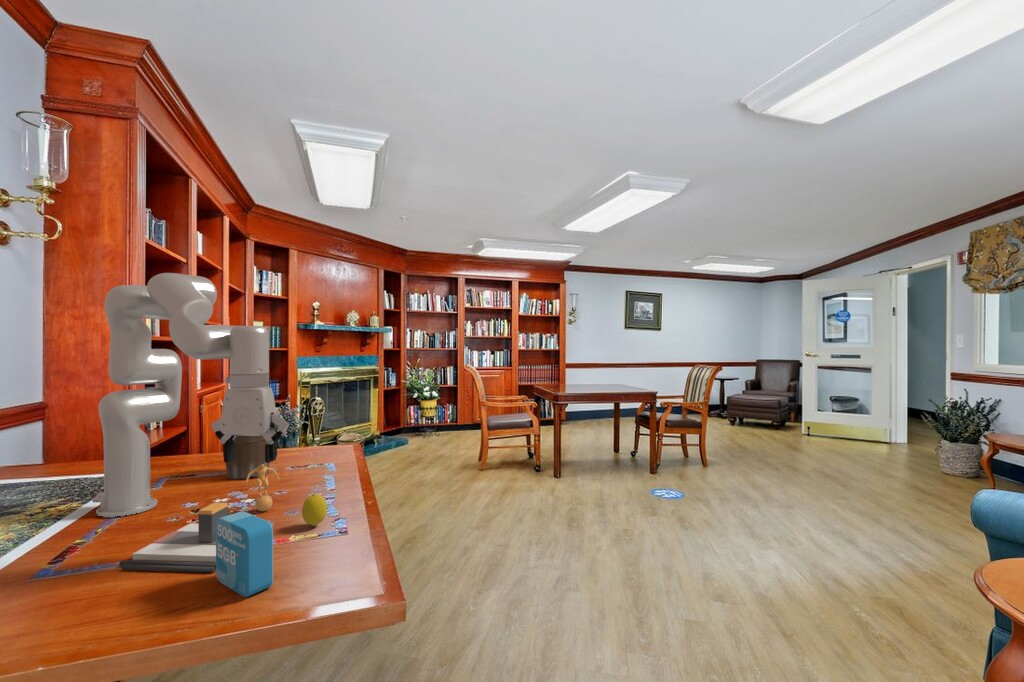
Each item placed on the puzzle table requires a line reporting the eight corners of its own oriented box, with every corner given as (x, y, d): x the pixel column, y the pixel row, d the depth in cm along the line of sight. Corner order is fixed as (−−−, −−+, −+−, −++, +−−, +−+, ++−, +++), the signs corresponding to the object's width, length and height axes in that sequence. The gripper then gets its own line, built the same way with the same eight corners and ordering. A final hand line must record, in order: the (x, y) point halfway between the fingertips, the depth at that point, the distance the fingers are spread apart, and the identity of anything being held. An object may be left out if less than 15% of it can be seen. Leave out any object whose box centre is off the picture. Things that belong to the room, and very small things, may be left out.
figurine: (248, 516, 120) (247, 469, 120) (242, 510, 125) (242, 465, 125) (283, 509, 126) (283, 464, 126) (276, 503, 130) (276, 459, 130)
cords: (112, 570, 92) (112, 565, 92) (123, 564, 95) (123, 559, 95) (212, 573, 91) (212, 568, 91) (221, 567, 94) (221, 562, 94)
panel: (131, 559, 97) (131, 552, 97) (189, 528, 113) (189, 522, 113) (227, 562, 96) (227, 555, 96) (272, 530, 112) (272, 524, 112)
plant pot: (234, 469, 165) (234, 422, 165) (282, 467, 167) (282, 421, 167) (209, 483, 149) (209, 431, 149) (263, 481, 151) (263, 430, 150)
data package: (215, 580, 89) (215, 516, 89) (240, 570, 92) (240, 509, 92) (248, 600, 82) (247, 531, 82) (273, 589, 86) (273, 522, 86)
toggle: (198, 542, 102) (198, 510, 102) (214, 532, 107) (214, 502, 107) (211, 542, 102) (211, 510, 102) (227, 532, 107) (227, 502, 107)
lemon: (331, 523, 116) (331, 491, 116) (315, 532, 111) (315, 498, 111) (313, 520, 118) (313, 488, 118) (296, 529, 112) (296, 495, 112)
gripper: (199, 383, 100) (200, 465, 100) (278, 383, 99) (279, 466, 99) (223, 380, 108) (223, 456, 108) (297, 380, 107) (297, 457, 107)
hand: (250, 460), depth 104 cm, fingers open, 8 cm apart
